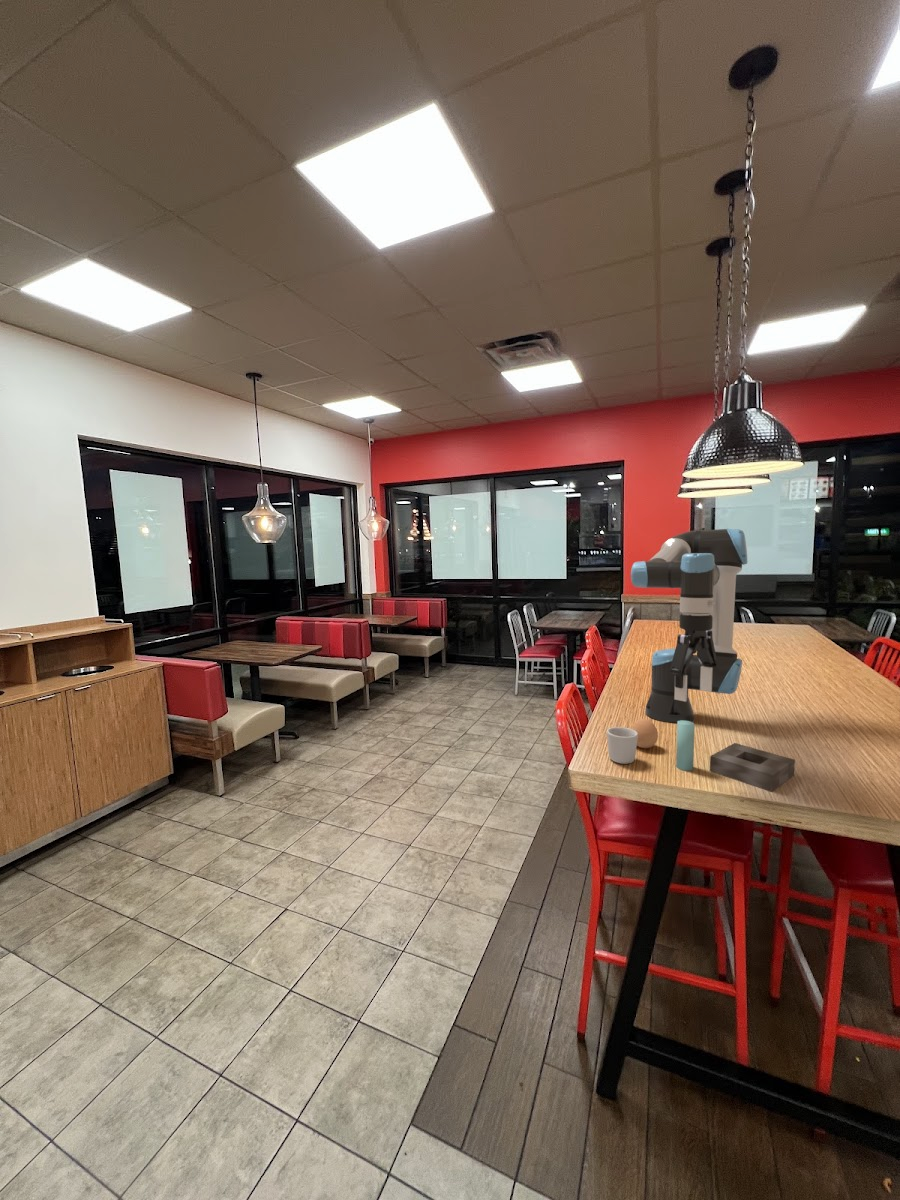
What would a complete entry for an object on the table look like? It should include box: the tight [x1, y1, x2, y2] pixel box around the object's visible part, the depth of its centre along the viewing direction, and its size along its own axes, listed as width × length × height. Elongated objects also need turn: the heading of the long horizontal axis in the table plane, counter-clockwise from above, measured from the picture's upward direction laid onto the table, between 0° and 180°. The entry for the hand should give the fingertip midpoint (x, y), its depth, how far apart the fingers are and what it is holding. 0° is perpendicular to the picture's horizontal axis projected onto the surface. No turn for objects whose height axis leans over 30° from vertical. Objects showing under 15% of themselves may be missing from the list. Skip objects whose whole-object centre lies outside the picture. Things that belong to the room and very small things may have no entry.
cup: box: [606, 726, 638, 765], centre depth 130 cm, size 11×8×8 cm
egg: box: [630, 717, 659, 749], centre depth 137 cm, size 7×7×8 cm
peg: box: [675, 720, 695, 772], centre depth 124 cm, size 4×4×12 cm
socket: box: [709, 742, 796, 793], centre depth 120 cm, size 14×14×4 cm
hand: (693, 695), depth 123 cm, fingers open, 13 cm apart
